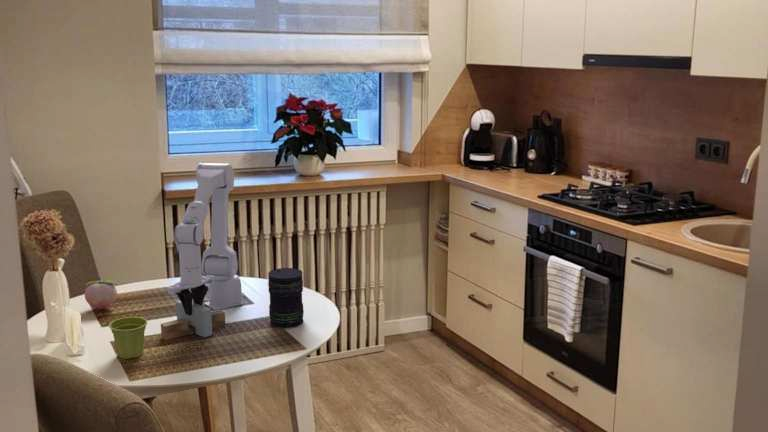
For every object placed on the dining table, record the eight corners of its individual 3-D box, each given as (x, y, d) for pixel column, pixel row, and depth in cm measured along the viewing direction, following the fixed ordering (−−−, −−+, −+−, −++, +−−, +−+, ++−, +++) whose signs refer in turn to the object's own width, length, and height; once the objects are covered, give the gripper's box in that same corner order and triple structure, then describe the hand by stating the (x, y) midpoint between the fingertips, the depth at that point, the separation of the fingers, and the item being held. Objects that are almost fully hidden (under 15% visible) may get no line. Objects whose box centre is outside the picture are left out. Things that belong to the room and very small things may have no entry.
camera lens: (310, 322, 223) (310, 272, 219) (284, 331, 216) (283, 280, 212) (288, 314, 229) (287, 265, 226) (262, 322, 222) (260, 273, 219)
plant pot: (157, 350, 202) (154, 319, 200) (134, 364, 194) (132, 331, 192) (127, 345, 205) (124, 314, 203) (103, 359, 197) (101, 327, 195)
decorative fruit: (118, 303, 238) (116, 272, 236) (118, 311, 230) (115, 280, 228) (86, 306, 235) (83, 275, 233) (84, 315, 227) (82, 283, 225)
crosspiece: (212, 334, 213) (211, 309, 211) (204, 337, 211) (203, 311, 209) (184, 324, 220) (183, 299, 218) (177, 326, 218) (176, 301, 216)
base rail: (221, 322, 222) (220, 309, 221) (225, 325, 220) (224, 312, 219) (161, 337, 211) (160, 323, 210) (165, 340, 209) (164, 326, 208)
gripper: (202, 257, 219) (204, 303, 222) (159, 269, 208) (162, 316, 211) (218, 262, 215) (220, 308, 218) (175, 274, 204) (178, 322, 207)
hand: (193, 313), depth 214 cm, fingers closed on crosspiece, 2 cm apart
